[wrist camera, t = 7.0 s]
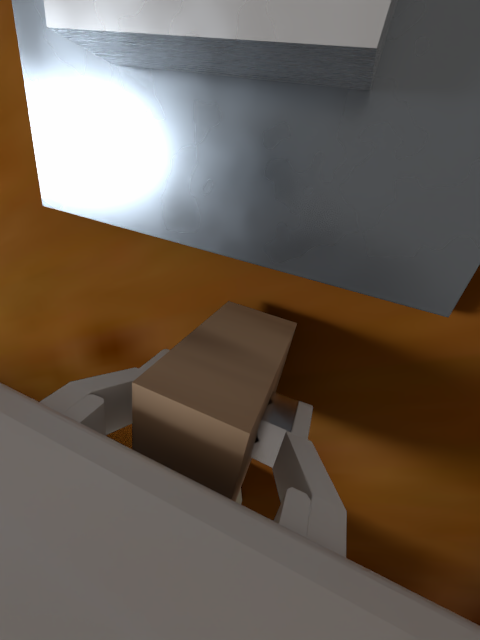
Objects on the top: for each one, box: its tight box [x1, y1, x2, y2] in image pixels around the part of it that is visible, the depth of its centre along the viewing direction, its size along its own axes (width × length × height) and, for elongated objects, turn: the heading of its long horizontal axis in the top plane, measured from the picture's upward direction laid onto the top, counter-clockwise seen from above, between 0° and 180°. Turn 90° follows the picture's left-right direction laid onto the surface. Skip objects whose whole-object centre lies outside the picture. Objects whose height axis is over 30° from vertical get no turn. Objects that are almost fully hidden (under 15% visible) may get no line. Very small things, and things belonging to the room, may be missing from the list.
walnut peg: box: [132, 301, 297, 502], centre depth 10 cm, size 5×3×6 cm, turn 169°
